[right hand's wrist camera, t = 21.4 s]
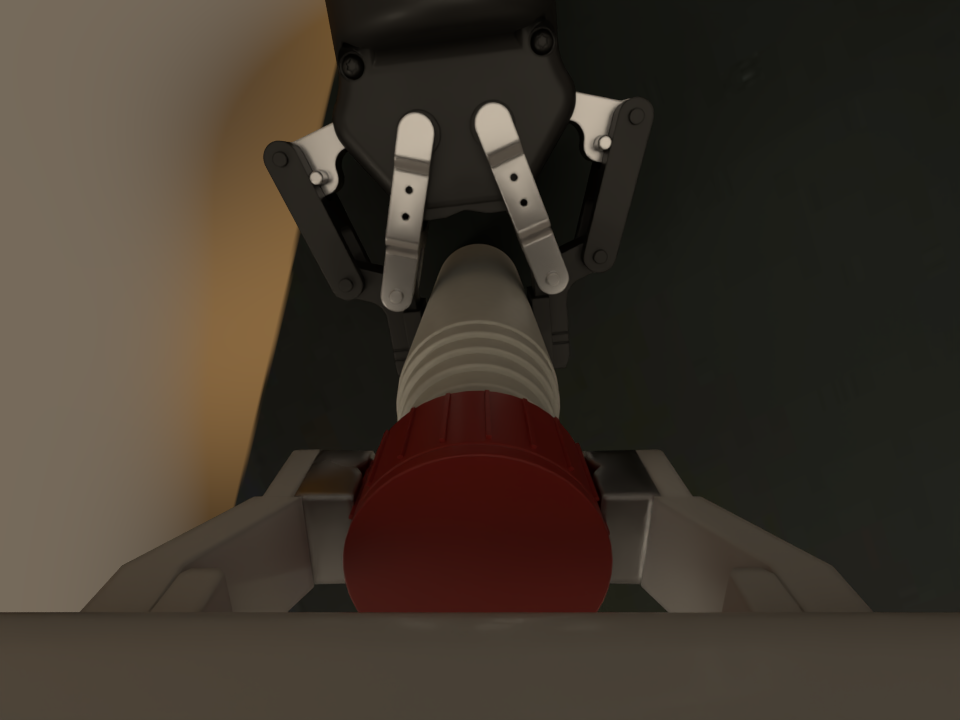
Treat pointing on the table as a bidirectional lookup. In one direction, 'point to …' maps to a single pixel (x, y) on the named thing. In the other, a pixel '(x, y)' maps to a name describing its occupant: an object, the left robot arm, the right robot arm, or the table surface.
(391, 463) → the cap
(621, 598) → the table surface
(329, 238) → the left robot arm
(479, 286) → the bottle
